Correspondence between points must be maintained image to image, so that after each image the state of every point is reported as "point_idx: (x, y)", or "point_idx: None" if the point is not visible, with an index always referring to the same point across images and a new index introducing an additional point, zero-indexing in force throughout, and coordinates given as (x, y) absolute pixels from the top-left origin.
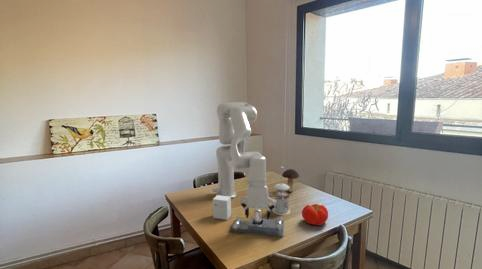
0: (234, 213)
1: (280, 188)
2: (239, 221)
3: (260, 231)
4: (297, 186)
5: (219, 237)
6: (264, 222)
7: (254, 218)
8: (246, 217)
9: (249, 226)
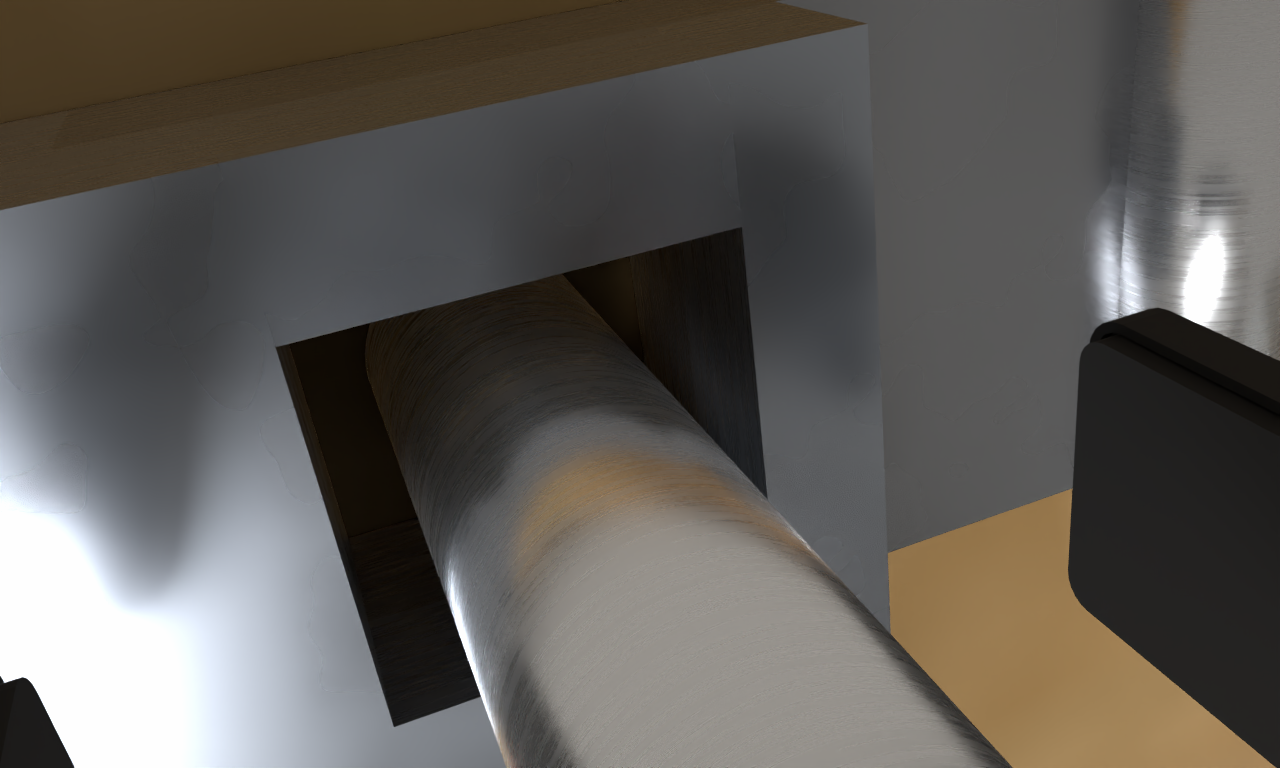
0: (1226, 760)
1: None
2: None
3: (265, 102)
4: None
5: None
6: (258, 593)
7: None
8: (1156, 311)
9: (798, 26)
